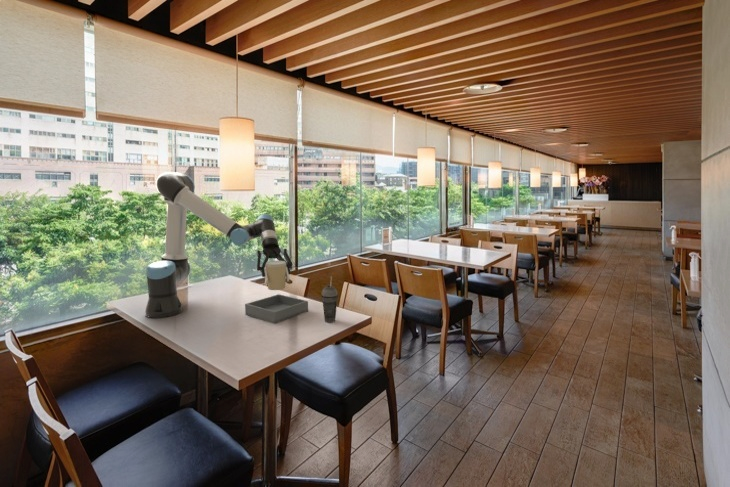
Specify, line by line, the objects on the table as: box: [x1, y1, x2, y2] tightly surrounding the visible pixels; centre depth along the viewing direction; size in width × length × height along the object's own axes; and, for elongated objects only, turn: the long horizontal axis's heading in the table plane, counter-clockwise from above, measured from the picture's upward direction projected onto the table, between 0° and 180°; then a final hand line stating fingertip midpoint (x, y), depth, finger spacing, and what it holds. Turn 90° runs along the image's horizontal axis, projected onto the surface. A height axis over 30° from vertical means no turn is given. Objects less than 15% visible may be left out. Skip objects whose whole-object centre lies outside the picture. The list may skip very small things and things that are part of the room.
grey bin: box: [244, 293, 309, 324], centre depth 173 cm, size 20×20×5 cm
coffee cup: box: [265, 260, 287, 291], centre depth 171 cm, size 9×9×12 cm
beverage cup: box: [321, 275, 339, 324], centre depth 162 cm, size 7×7×20 cm
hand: (277, 281), depth 169 cm, fingers closed on coffee cup, 9 cm apart
